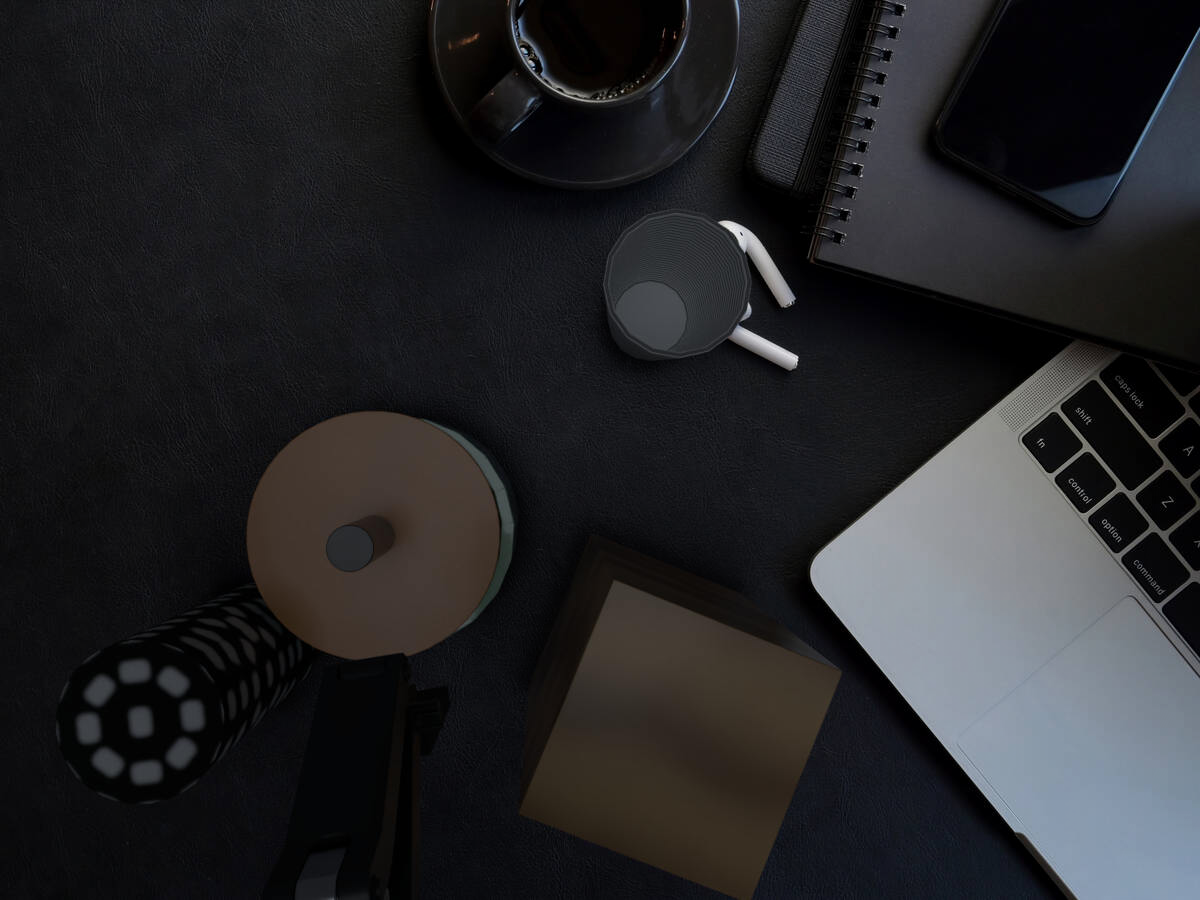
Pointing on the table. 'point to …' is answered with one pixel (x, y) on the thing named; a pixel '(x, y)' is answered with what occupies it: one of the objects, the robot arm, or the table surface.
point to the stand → (670, 719)
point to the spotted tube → (177, 697)
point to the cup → (675, 285)
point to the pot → (504, 505)
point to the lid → (373, 535)
